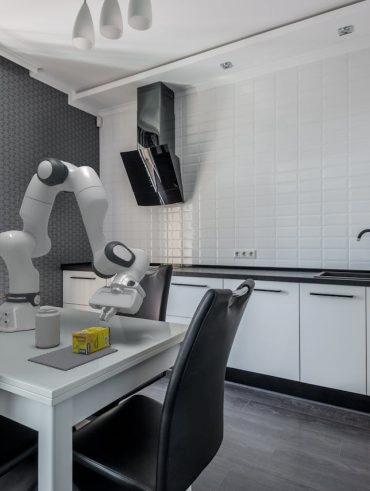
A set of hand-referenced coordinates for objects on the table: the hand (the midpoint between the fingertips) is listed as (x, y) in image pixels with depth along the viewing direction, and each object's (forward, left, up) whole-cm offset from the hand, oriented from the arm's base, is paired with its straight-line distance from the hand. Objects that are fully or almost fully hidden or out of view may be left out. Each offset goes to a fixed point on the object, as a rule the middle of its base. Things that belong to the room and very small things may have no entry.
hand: (103, 320), depth 110 cm
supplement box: (0, 0, -5) cm, 5 cm away
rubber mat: (-4, -11, -8) cm, 14 cm away
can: (-18, -3, -9) cm, 20 cm away
